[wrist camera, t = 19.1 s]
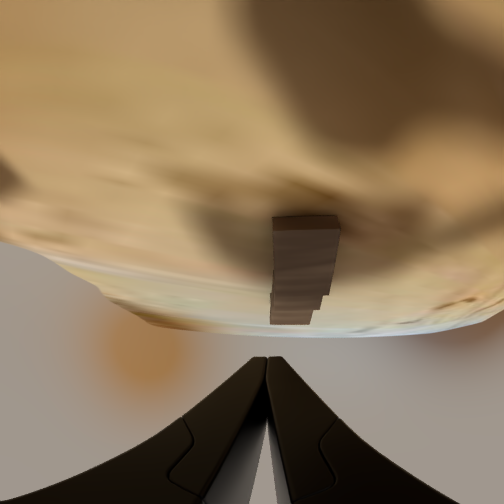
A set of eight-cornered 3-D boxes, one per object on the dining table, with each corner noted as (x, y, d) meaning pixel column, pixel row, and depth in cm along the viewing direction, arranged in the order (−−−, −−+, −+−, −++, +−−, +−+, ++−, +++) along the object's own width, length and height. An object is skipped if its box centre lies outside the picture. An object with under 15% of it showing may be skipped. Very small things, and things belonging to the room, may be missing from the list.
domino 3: (274, 259, 25) (274, 311, 30) (330, 258, 25) (319, 309, 30) (274, 246, 26) (273, 299, 32) (328, 245, 26) (317, 298, 31)
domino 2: (272, 230, 21) (275, 297, 26) (340, 229, 20) (328, 295, 26) (272, 217, 22) (275, 283, 27) (336, 215, 21) (326, 281, 27)
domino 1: (273, 280, 30) (269, 324, 35) (320, 281, 30) (309, 324, 35) (273, 269, 31) (269, 314, 36) (318, 270, 31) (308, 314, 36)
